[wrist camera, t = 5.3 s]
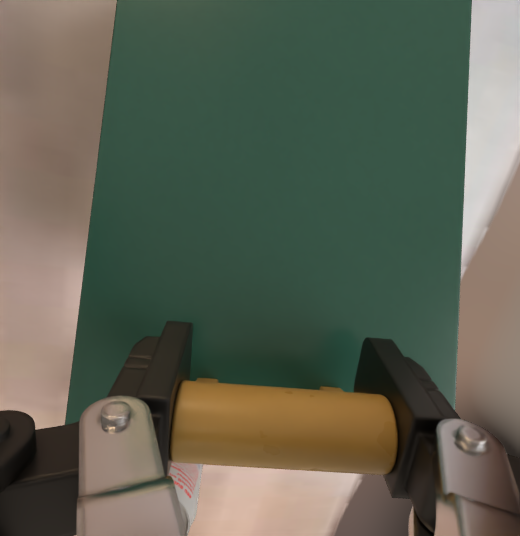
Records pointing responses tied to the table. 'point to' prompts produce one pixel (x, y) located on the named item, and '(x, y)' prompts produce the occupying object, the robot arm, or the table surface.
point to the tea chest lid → (279, 217)
